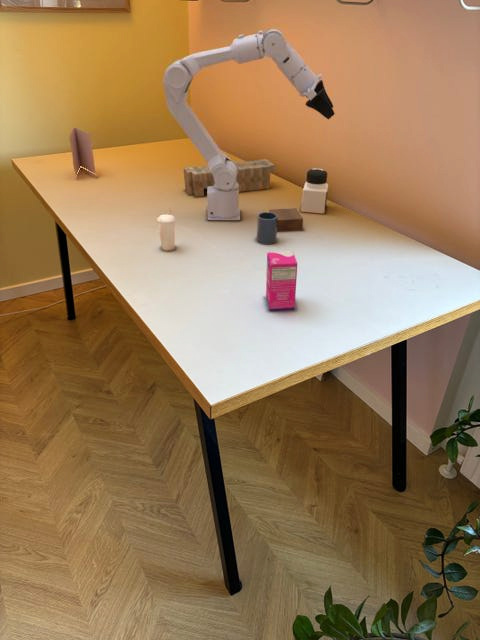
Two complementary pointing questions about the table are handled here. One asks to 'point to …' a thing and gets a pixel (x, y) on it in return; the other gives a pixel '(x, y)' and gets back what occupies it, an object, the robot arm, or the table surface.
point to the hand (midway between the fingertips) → (331, 112)
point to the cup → (266, 227)
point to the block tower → (248, 178)
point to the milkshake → (167, 231)
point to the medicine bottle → (315, 192)
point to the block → (288, 219)
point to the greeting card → (82, 152)
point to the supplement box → (281, 280)
